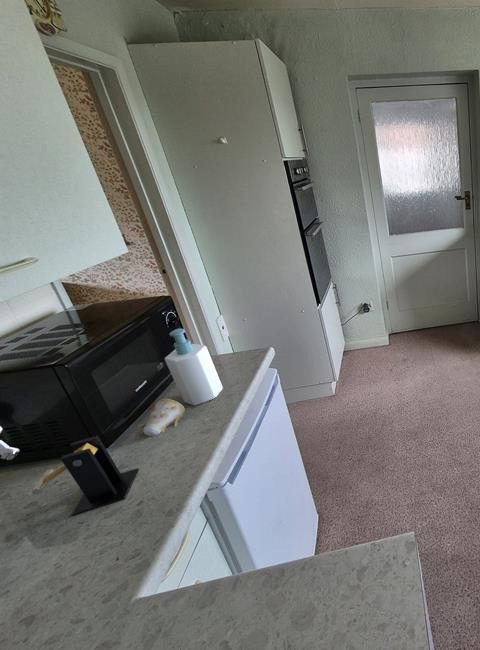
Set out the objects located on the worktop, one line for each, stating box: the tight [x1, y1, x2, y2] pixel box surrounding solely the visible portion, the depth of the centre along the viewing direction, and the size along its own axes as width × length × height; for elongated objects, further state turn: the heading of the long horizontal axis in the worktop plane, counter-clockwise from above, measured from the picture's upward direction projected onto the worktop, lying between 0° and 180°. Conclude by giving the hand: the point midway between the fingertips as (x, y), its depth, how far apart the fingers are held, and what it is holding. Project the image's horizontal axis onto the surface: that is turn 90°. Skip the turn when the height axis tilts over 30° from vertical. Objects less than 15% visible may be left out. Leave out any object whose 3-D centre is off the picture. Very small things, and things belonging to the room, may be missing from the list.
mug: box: [142, 398, 186, 437], centre depth 103 cm, size 8×10×10 cm
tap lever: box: [31, 443, 97, 495], centre depth 78 cm, size 11×6×2 cm, turn 112°
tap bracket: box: [60, 435, 140, 517], centre depth 81 cm, size 9×9×14 cm
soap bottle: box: [164, 328, 224, 406], centre depth 111 cm, size 10×9×22 cm
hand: (2, 470), depth 75 cm, fingers open, 8 cm apart
